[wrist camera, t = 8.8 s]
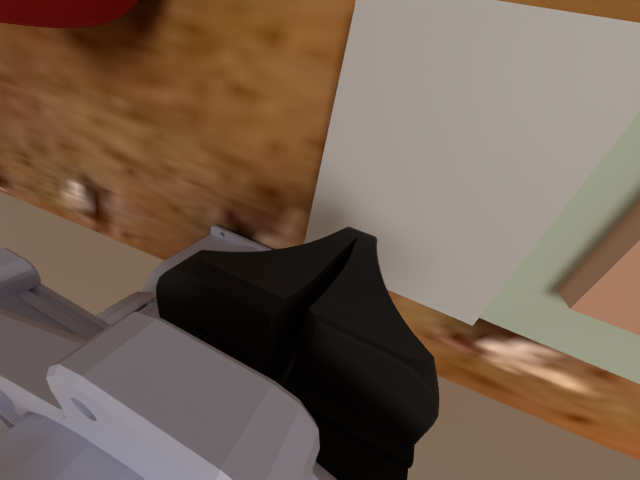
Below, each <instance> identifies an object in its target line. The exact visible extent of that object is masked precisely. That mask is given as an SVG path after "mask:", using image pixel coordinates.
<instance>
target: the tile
mask: <svg viewBox="0 0 640 480" xmlns="http://www.w3.org/2000/svg"><path fill="white" fill-rule="evenodd" d="M557 290H558V291H559V293H560V295H561V296H562V298H563V299H564V301H565V302H566V304H567V306H568V307H569V309H571V310H574V311H576V312H579V313H582V314H584V315H587V316H590V317H592V318H595V319H598V320H600V321H603V322H606V323H608V324H611V325H613V326H616V327H619V328H621V329H624V330H627V331H629V332H632V333H635V334H637V335H640V201H639V202H638V203H637V204H636V205H635V206H634V207H633V208H632V209H631V210H630V212H629V213H628V214H627V215H626V216H625V217H624V218H623V219H622V220H621V221H620V222H619V223H618V224H617V226H616V227H615V228H614V229H613V230H612V231H611V232H610V233H609V234H608V235H607V236H606V237H605V238H604V239H603V241H602V242H601V243H600V244H599V245H598V246H597V247H596V248H595V249H594V250H593V251H592V252H591V253H590V255H589V256H588V257H587V258H586V259H585V260H584V261H583V262H582V263H581V264H580V265H579V266H578V267H577V269H576V270H575V271H574V272H573V273H572V274H571V275H570V276H569V277H568V278H567V279H566V280H565V281H564V282H563V284H562V285H561V286H560V287H559V288H558V289H557Z"/></svg>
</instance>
